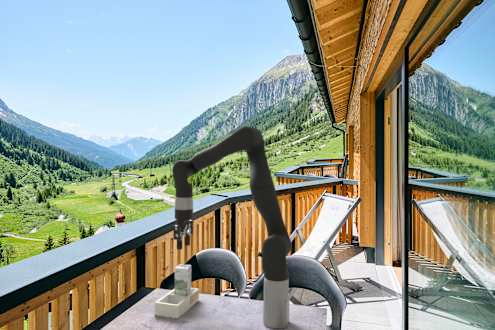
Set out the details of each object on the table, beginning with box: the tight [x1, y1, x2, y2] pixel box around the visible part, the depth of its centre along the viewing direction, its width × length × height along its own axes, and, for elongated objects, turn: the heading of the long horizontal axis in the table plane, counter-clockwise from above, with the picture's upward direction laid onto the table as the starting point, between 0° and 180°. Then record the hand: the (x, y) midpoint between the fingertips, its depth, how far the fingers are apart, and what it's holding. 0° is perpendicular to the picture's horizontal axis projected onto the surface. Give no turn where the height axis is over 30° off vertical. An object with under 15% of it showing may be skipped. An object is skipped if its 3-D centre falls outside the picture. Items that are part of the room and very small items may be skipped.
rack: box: [154, 287, 200, 319], centre depth 148 cm, size 10×19×5 cm, turn 163°
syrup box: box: [174, 263, 192, 296], centre depth 152 cm, size 6×6×14 cm
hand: (183, 247), depth 152 cm, fingers open, 6 cm apart
